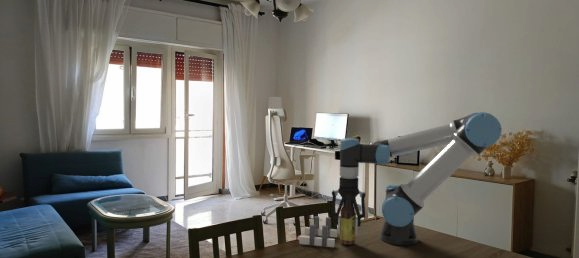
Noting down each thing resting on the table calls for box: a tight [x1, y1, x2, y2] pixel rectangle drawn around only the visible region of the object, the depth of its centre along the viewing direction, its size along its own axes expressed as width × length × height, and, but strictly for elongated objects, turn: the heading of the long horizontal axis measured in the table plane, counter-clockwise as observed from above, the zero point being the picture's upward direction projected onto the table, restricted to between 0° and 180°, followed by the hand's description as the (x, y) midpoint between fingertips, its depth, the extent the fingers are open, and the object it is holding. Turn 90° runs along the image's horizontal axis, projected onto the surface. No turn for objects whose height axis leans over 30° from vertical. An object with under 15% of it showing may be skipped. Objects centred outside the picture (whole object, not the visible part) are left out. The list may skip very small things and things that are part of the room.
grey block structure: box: [298, 215, 338, 248], centre depth 163 cm, size 14×13×8 cm
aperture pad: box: [296, 234, 310, 242], centre depth 165 cm, size 8×8×1 cm
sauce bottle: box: [339, 195, 357, 246], centre depth 160 cm, size 7×6×20 cm
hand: (347, 233), depth 160 cm, fingers closed on sauce bottle, 6 cm apart
